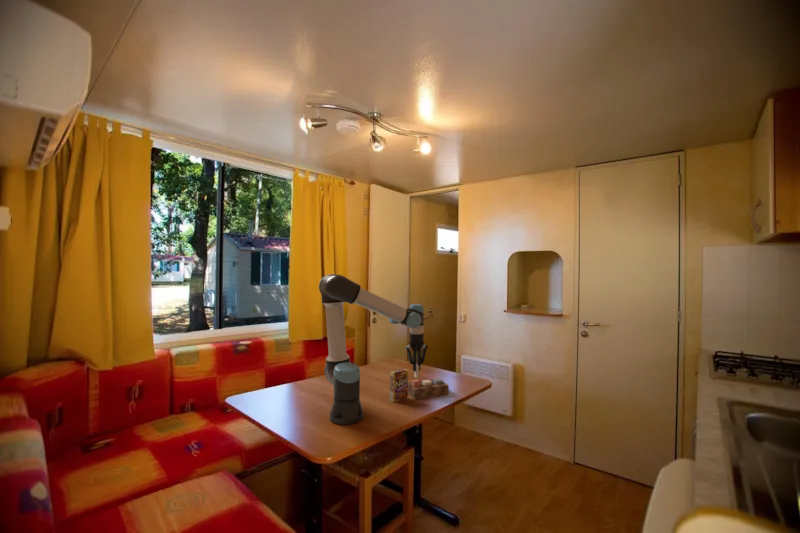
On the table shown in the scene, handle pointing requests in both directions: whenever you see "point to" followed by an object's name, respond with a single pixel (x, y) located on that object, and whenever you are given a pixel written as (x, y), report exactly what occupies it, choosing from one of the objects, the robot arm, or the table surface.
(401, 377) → the candy box
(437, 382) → the slate key
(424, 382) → the ivory key
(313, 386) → the table surface
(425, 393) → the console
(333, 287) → the robot arm
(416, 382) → the brick key
